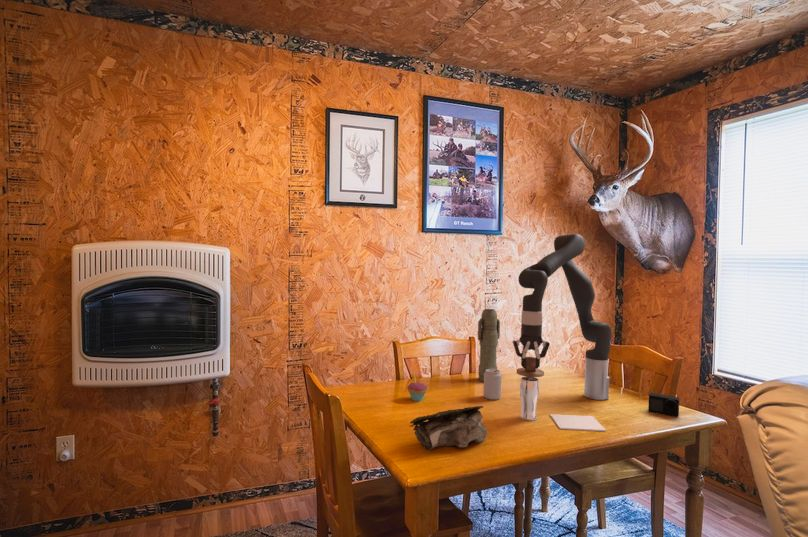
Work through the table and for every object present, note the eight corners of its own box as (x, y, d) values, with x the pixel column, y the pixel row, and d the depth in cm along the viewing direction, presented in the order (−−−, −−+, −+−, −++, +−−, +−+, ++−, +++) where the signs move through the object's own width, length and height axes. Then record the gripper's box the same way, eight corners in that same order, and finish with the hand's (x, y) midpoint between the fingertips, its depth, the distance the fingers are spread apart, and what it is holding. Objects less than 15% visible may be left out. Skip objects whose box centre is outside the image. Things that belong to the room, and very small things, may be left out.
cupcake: (404, 400, 189) (404, 372, 189) (411, 395, 197) (412, 367, 197) (423, 403, 186) (424, 374, 185) (430, 397, 194) (430, 370, 193)
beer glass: (538, 416, 174) (539, 377, 174) (537, 422, 168) (538, 382, 167) (519, 413, 177) (521, 375, 176) (518, 419, 170) (519, 380, 170)
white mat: (592, 417, 174) (592, 416, 174) (606, 431, 160) (606, 430, 160) (550, 415, 175) (550, 414, 175) (559, 429, 162) (559, 427, 162)
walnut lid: (540, 370, 176) (540, 355, 176) (546, 377, 166) (547, 361, 166) (514, 369, 177) (514, 354, 177) (519, 376, 167) (519, 360, 167)
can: (501, 401, 192) (501, 373, 191) (483, 399, 193) (483, 371, 193) (500, 395, 199) (501, 368, 199) (483, 394, 200) (484, 367, 200)
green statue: (502, 380, 223) (504, 310, 222) (484, 384, 217) (486, 311, 216) (490, 376, 231) (492, 308, 230) (472, 379, 224) (474, 309, 223)
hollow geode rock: (411, 467, 140) (427, 446, 130) (399, 428, 148) (413, 405, 138) (486, 450, 152) (506, 429, 142) (471, 415, 160) (489, 393, 150)
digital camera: (647, 412, 181) (648, 395, 181) (649, 409, 186) (649, 392, 186) (677, 418, 176) (678, 400, 175) (678, 414, 180) (679, 397, 180)
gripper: (548, 322, 174) (547, 366, 175) (510, 320, 175) (509, 364, 176) (553, 325, 167) (551, 371, 167) (514, 323, 168) (512, 369, 168)
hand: (530, 367), depth 172 cm, fingers closed on walnut lid, 4 cm apart
